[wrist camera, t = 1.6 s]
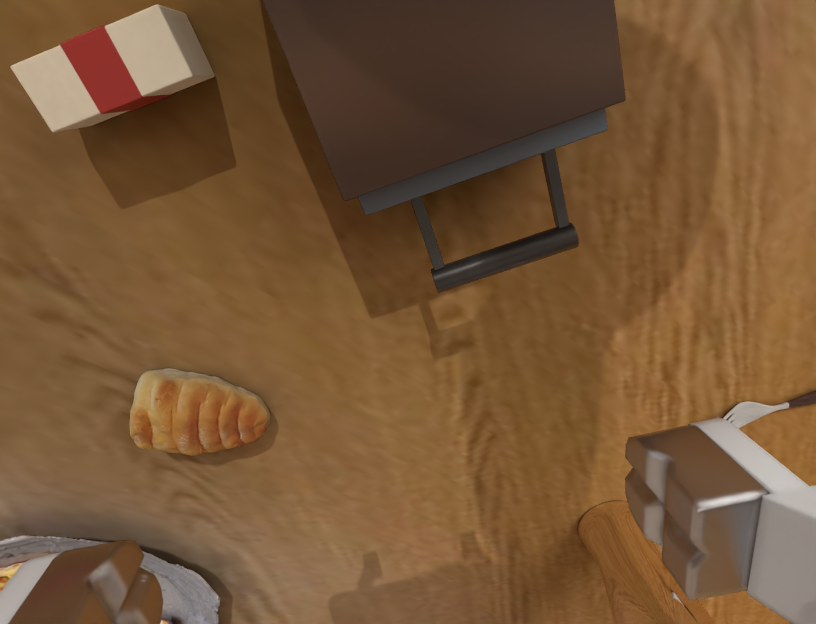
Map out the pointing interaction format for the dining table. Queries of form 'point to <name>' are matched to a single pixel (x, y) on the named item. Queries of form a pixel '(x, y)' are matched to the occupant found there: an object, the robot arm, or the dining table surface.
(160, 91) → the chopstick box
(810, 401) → the fork
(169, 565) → the food plate
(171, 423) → the pastry
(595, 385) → the dining table surface
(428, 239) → the drawer
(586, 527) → the beer glass
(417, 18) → the cabinet
